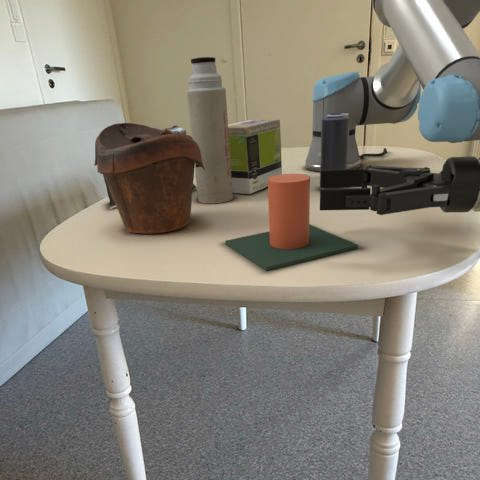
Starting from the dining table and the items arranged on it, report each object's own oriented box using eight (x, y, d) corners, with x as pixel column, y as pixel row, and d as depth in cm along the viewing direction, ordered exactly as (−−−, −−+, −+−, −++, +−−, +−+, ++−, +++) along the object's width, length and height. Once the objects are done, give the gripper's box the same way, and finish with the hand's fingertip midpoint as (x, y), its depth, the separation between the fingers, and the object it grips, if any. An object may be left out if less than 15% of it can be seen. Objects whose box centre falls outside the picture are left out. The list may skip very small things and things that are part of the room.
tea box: (250, 179, 119) (247, 119, 112) (283, 182, 113) (282, 118, 106) (215, 191, 108) (210, 126, 101) (250, 195, 103) (246, 126, 96)
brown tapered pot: (197, 239, 77) (185, 127, 68) (90, 239, 80) (65, 132, 72) (219, 211, 92) (211, 116, 83) (128, 212, 96) (112, 122, 87)
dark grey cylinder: (335, 184, 107) (338, 116, 100) (352, 189, 102) (356, 117, 95) (314, 188, 105) (315, 119, 98) (329, 193, 100) (332, 120, 93)
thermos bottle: (236, 194, 104) (227, 56, 91) (228, 203, 98) (217, 55, 84) (203, 195, 106) (190, 59, 93) (193, 203, 99) (177, 58, 86)
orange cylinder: (295, 234, 74) (295, 172, 70) (316, 244, 69) (318, 178, 65) (262, 241, 72) (260, 177, 67) (282, 252, 67) (281, 184, 62)
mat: (307, 226, 79) (307, 223, 79) (357, 248, 68) (358, 244, 68) (225, 244, 74) (225, 240, 73) (266, 271, 63) (266, 267, 62)
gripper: (498, 239, 53) (318, 240, 57) (448, 191, 75) (320, 194, 79) (512, 174, 50) (320, 180, 53) (455, 143, 71) (321, 149, 75)
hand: (319, 188), depth 66 cm, fingers open, 13 cm apart
